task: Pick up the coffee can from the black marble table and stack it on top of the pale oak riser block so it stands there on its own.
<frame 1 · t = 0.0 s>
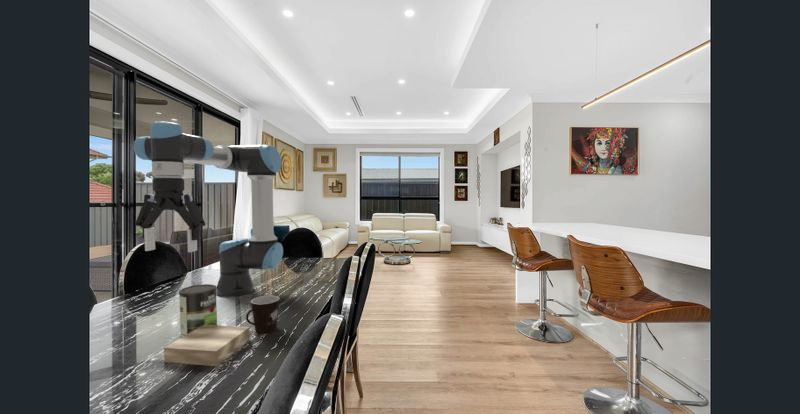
hand: (171, 250, 96), 28 cm above the table, tool pointing down, fingers open, 13 cm apart
oak riser: (210, 350, 95), on the table
coffee mug: (261, 331, 107), on the table
coffee can: (199, 332, 107), on the table
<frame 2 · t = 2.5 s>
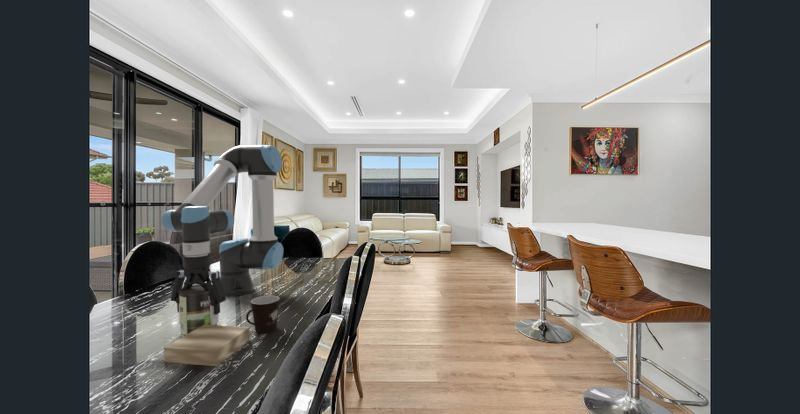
hand: (199, 323, 107), 3 cm above the table, tool pointing down, fingers closed on coffee can, 10 cm apart
coffee can: (199, 332, 107), on the table, touching gripper
everything else where it was.
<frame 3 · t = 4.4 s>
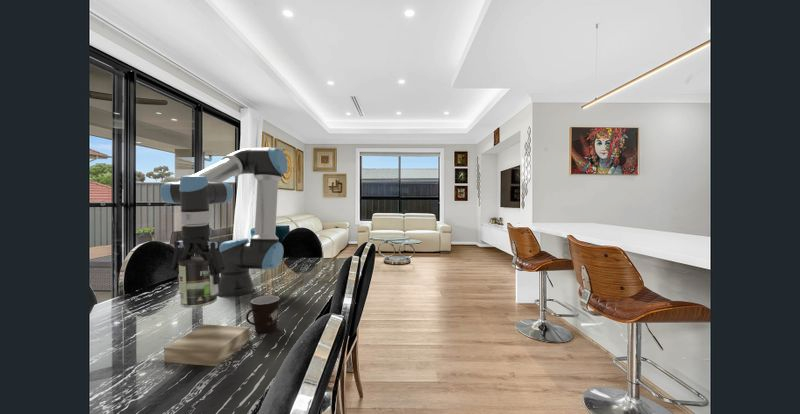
hand: (199, 293, 107), 12 cm above the table, tool pointing down, fingers closed on coffee can, 10 cm apart
coffee can: (199, 302, 107), point 9 cm above the table, touching gripper
everything else where it was.
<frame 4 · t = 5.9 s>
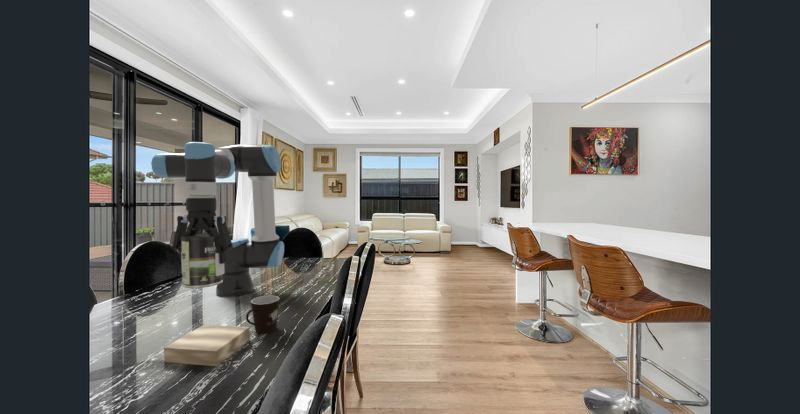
hand: (203, 274, 96), 21 cm above the table, tool pointing down, fingers closed on coffee can, 10 cm apart
coffee can: (203, 284, 96), point 18 cm above the table, touching gripper
everything else where it was.
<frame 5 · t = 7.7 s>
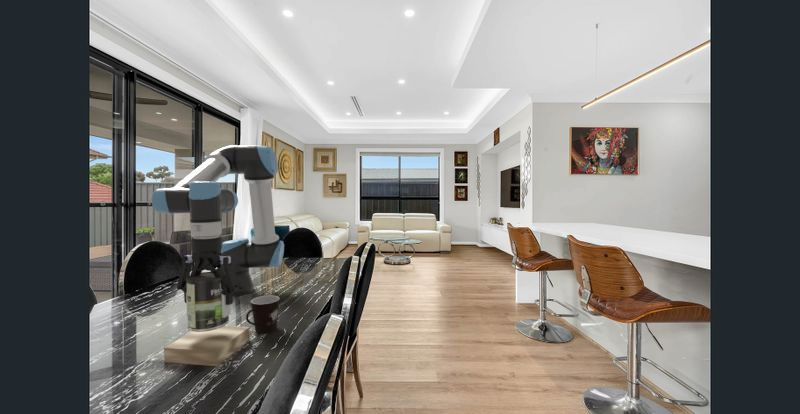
hand: (208, 314, 94), 10 cm above the table, tool pointing down, fingers closed on coffee can, 10 cm apart
coffee can: (209, 325, 94), point 7 cm above the table, touching gripper
everything else where it was.
when the fingers open (7 cm above the table, at t = 9.1 s): coffee can stays where it is, resting on oak riser.
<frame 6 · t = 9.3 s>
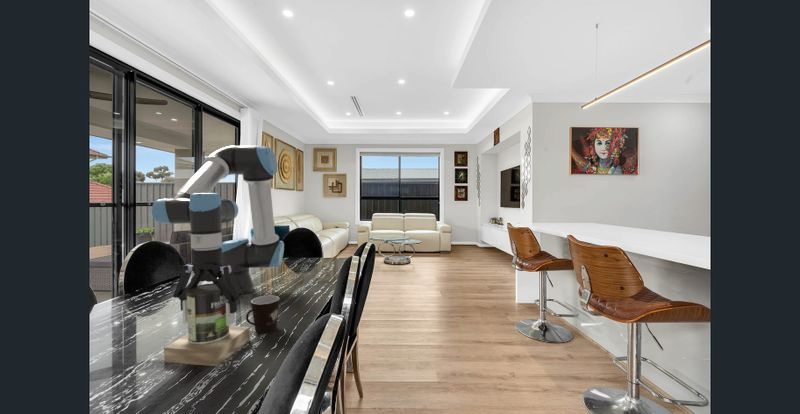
hand: (209, 322, 94), 8 cm above the table, tool pointing down, fingers open, 12 cm apart
coffee can: (209, 337, 94), point 4 cm above the table, touching oak riser
everything else where it was.
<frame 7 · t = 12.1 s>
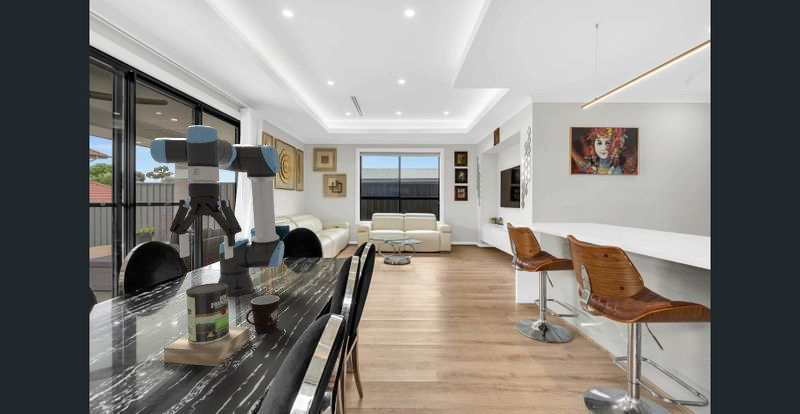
hand: (206, 257, 94), 26 cm above the table, tool pointing down, fingers open, 13 cm apart
nothing on the table moved.
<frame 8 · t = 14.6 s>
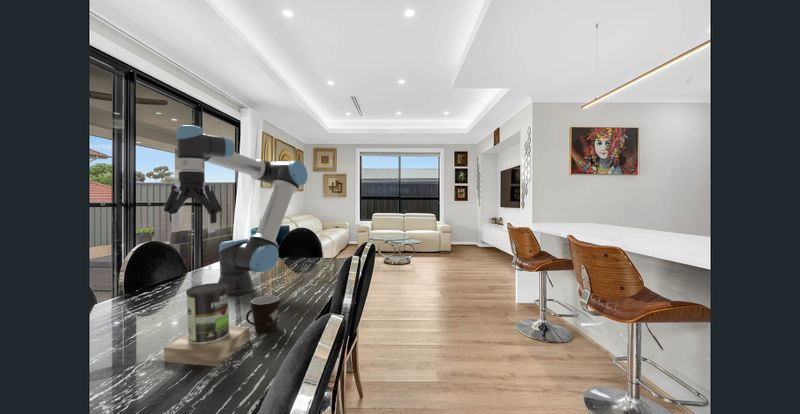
hand: (193, 232, 116), 31 cm above the table, tool pointing down, fingers open, 13 cm apart
nothing on the table moved.
at the end: coffee can inside the target area on the oak riser (0.1 cm from its centre), point 3.8 cm above the oak riser's base; coffee can tilted 0°; coffee can touching oak riser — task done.
